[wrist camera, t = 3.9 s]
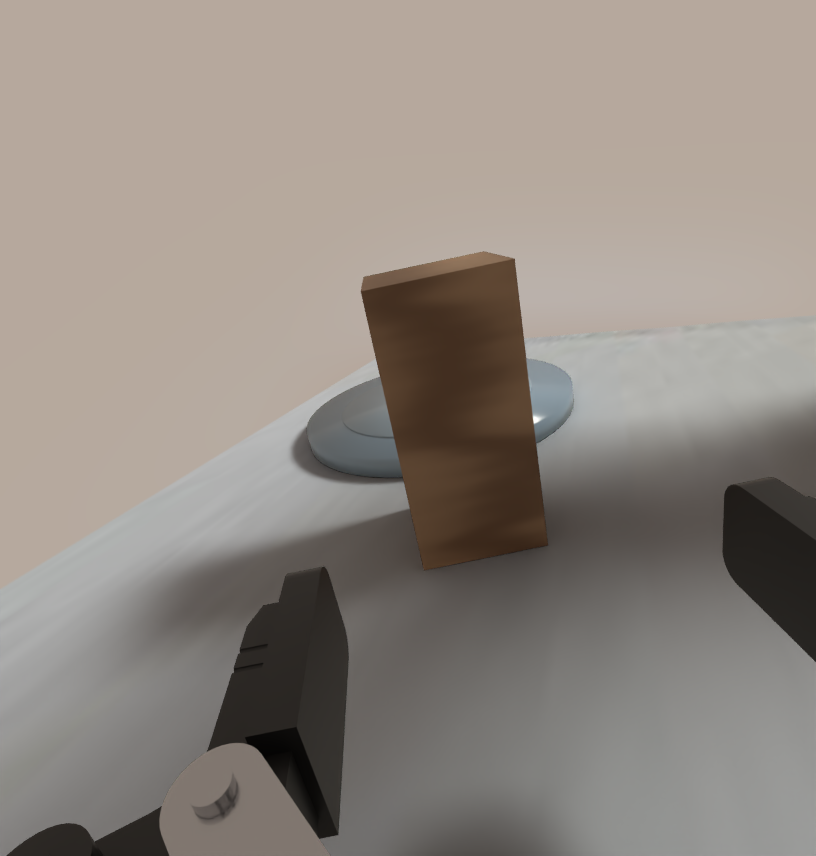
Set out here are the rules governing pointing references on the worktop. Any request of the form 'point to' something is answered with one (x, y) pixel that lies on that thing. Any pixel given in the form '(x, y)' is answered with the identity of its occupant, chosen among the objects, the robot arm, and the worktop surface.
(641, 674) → the worktop surface
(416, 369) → the walnut block
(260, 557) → the worktop surface
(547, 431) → the slate plate
